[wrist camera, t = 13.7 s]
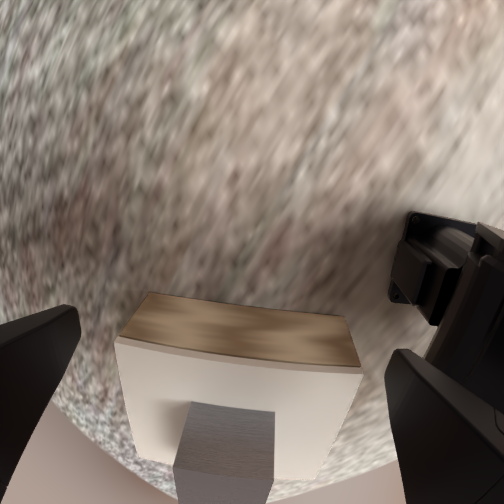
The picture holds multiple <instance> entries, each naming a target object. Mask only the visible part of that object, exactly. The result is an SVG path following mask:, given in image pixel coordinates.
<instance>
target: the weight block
mask: <svg viewBox="0 0 504 504" xmlns="http://www.w3.org/2000/svg"><path fill="white" fill-rule="evenodd" d="M274 449H275V412H271V411H260V410H251V409H242V408H234V407H226V406H219V405H213V404H206V403H200V402H194V401H191V404H190V408H189V411H188V415H187V418H186V422H185V425H184V429H183V432H182V436H181V439H180V443H179V446H178V450H177V453H176V457H175V460H174V464H173V473H174V479H175V485H176V491H177V496H178V502H179V504H265V503H266V500H267V498H268V495H269V492H270V490H271V487H272V484H273V481H274Z"/></svg>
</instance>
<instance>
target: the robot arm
mask: <svg viewBox="0 0 504 504" xmlns="http://www.w3.org/2000/svg"><path fill="white" fill-rule="evenodd" d="M415 216H416V217H417V220H416V221H415V222H413V221H412V219H413V217H415ZM475 232H476V234H475ZM391 277H392V281H391V284H390V288H389V291H388V298H389V299H390V301H391V302H393V303H404V304H412V305H413V306H416V307H417V308H418V310H419V311H420V312H421V314H422V315H423V316H424V318H425V319H426V320H427V322H428V323H429V325H431V326H437V327H438V328H437V330H436V333H435V335H434V337H433V339H432V341H431V343H430V345H429V347H428V349H427V351H426V353H425V355H424V357H423V358H421V357H420V356H418V355H417V354H415V353H414V352H412V351H411V350H409V349H396V350H394V352H393V354H392V356H391V359H390V361H389V364H388V366H387V368H386V371H385V375H384V381H385V388H386V395H387V403H388V411H389V419H390V425H391V430H392V434H393V439H394V443H395V448H396V452H397V457H398V462H399V467H400V471H401V477H402V482H403V487H404V493H405V499H406V504H504V231H503V230H500V229H497V228H495V227H492V226H489V225H486V224H483V223H481V222H478V223H477V224H474V223H469V222H465V221H460V220H456V219H451V218H447V217H442V216H437V215H432V214H427V213H422V212H417V211H412V212H410V213H409V214H408V216H407V220H406V224H405V229H404V233H403V238H402V240H401V241H400V242H399V244H398V248H397V252H396V256H395V260H394V264H393V268H392V272H391ZM395 293H397V296H395V297H393V295H394V294H395ZM80 337H81V327H80V321H79V315H78V311H77V309H76V308H75V307H74V306H70V305H66V304H63V305H60V306H57V307H54V308H51V309H47V310H44V311H41V312H38V313H35V314H32V315H29V316H26V317H23V318H20V319H17V320H14V321H10V322H7V323H4V324H1V325H0V503H1V501H2V499H3V496H4V494H5V492H6V489H7V486H8V484H9V482H10V480H11V477H12V475H13V473H14V471H15V468H16V466H17V464H18V462H19V460H20V458H21V456H22V453H23V451H24V449H25V447H26V445H27V443H28V441H29V439H30V437H31V435H32V433H33V431H34V429H35V427H36V425H37V424H38V422H39V420H40V418H41V416H42V414H43V412H44V410H45V408H46V407H47V405H48V403H49V401H50V399H51V397H52V396H53V394H54V392H55V390H56V388H57V387H58V385H59V383H60V381H61V379H62V377H63V375H64V373H65V371H66V369H67V367H68V364H69V362H70V360H71V358H72V355H73V353H74V351H75V349H76V347H77V344H78V342H79V340H80Z"/></svg>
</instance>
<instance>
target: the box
mask: <svg viewBox="0 0 504 504" xmlns="http://www.w3.org/2000/svg"><path fill="white" fill-rule="evenodd" d="M119 337H123V338H128V339H132V340H137V341H142V342H147V343H152V344H157V345H163V346H168V347H174V348H179V349H185V350H191V351H197V352H204V353H210V354H217V355H224V356H232V357H239V358H247V359H256V360H264V361H274V362H284V363H295V364H307V365H321V366H338V367H361V364H360V361H359V358H358V355H357V352H356V349H355V346H354V343H353V340H352V337H351V335H350V332H349V329H348V326H347V323H346V320H345V318H344V316H333V315H322V314H312V313H302V312H293V311H283V310H274V309H266V308H257V307H249V306H241V305H233V304H226V303H218V302H211V301H204V300H197V299H190V298H183V297H176V296H170V295H163V294H157V293H151V292H150V293H149V294H148V295H147V297H146V298H145V300H144V301H143V302H142V304H141V305H140V306H139V308H138V309H137V310H136V312H135V313H134V315H133V316H132V317H131V319H130V320H129V321H128V323H127V324H126V326H125V327H124V328H123V330H122V331H121V333H120V334H119Z"/></svg>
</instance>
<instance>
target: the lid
mask: <svg viewBox="0 0 504 504" xmlns="http://www.w3.org/2000/svg"><path fill="white" fill-rule="evenodd" d="M114 347H115V353H116V359H117V365H118V370H119V376H120V381H121V386H122V391H123V396H124V401H125V406H126V410H127V415H128V419H129V423H130V427H131V431H132V435H133V439H134V443H135V447H136V450H137V454H138V457H141V458H145V459H148V460H152V461H157V462H161V463H165V464H170V465H173V464H174V460H175V457H176V453H177V450H178V446H179V443H180V439H181V436H182V432H183V429H184V425H185V422H186V418H187V415H188V411H189V408H190V404H191V401H194V402H200V403H206V404H213V405H219V406H226V407H234V408H242V409H251V410H260V411H271V412H275V449H274V479H285V480H315V478H316V476H317V474H318V473H319V471H320V469H321V467H322V465H323V463H324V461H325V459H326V457H327V455H328V453H329V451H330V449H331V447H332V445H333V443H334V441H335V439H336V437H337V435H338V433H339V431H340V429H341V427H342V424H343V422H344V420H345V418H346V416H347V413H348V411H349V409H350V407H351V404H352V402H353V400H354V397H355V395H356V393H357V390H358V388H359V385H360V383H361V380H362V378H363V375H364V373H363V370H362V368H360V367H338V366H321V365H307V364H295V363H284V362H274V361H264V360H256V359H247V358H239V357H232V356H224V355H217V354H210V353H204V352H197V351H191V350H185V349H179V348H174V347H168V346H163V345H157V344H152V343H147V342H142V341H137V340H132V339H128V338H123V337H119V336H118V337H117V338H116V340H115V341H114Z"/></svg>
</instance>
